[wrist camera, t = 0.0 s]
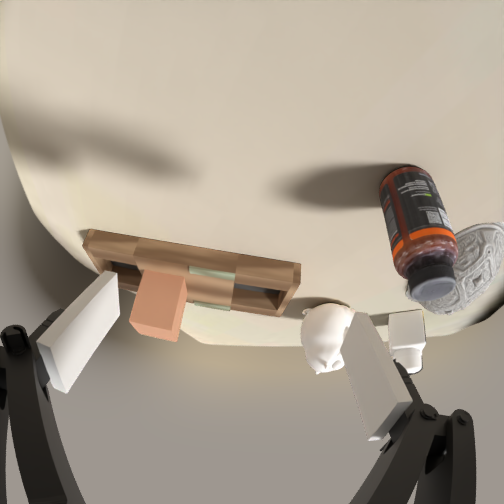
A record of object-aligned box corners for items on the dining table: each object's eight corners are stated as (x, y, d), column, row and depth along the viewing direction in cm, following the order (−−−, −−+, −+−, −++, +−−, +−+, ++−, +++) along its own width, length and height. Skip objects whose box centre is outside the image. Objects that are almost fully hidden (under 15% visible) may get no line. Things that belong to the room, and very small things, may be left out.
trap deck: (89, 228, 37) (81, 247, 36) (301, 263, 39) (300, 285, 37) (113, 271, 48) (107, 287, 47) (280, 301, 50) (279, 319, 48)
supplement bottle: (387, 212, 28) (403, 312, 22) (369, 175, 24) (390, 285, 18) (436, 197, 25) (465, 296, 19) (426, 155, 21) (468, 264, 15)
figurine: (291, 311, 53) (287, 373, 47) (313, 291, 45) (310, 364, 39) (337, 319, 55) (336, 378, 48) (364, 301, 47) (366, 369, 40)
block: (144, 269, 39) (128, 321, 35) (184, 276, 39) (171, 330, 35) (152, 287, 44) (139, 333, 40) (187, 294, 44) (177, 342, 40)
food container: (391, 306, 47) (398, 340, 43) (445, 207, 27) (467, 254, 23) (457, 296, 45) (466, 327, 41) (521, 208, 25) (542, 246, 21)
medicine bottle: (418, 320, 53) (422, 374, 46) (387, 324, 55) (389, 378, 49) (422, 308, 47) (428, 368, 41) (388, 313, 50) (391, 373, 44)
